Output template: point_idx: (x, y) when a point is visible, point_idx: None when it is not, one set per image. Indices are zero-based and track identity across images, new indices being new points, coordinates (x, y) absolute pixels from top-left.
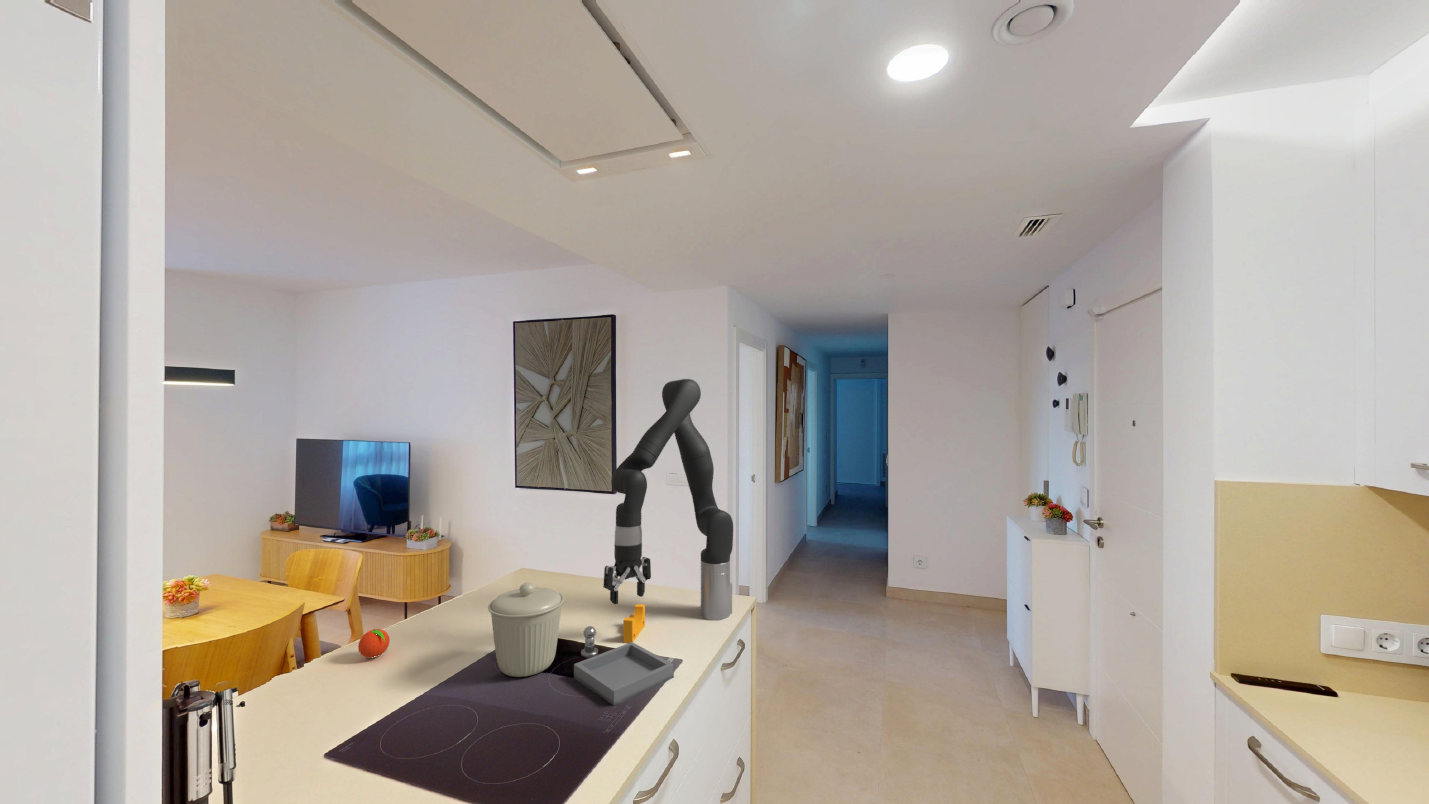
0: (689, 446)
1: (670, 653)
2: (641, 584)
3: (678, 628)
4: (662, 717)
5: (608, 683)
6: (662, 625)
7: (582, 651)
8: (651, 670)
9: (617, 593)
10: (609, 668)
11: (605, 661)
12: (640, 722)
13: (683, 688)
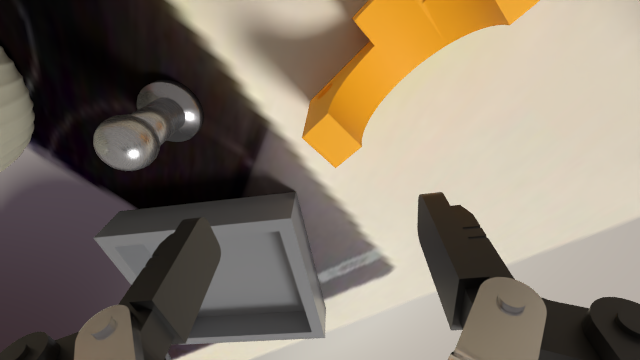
0: None
1: (391, 236)
2: (448, 321)
3: (555, 114)
4: (254, 355)
5: None
6: (542, 43)
7: (141, 104)
8: (294, 287)
9: (188, 320)
10: None
11: None
12: (221, 349)
13: None
